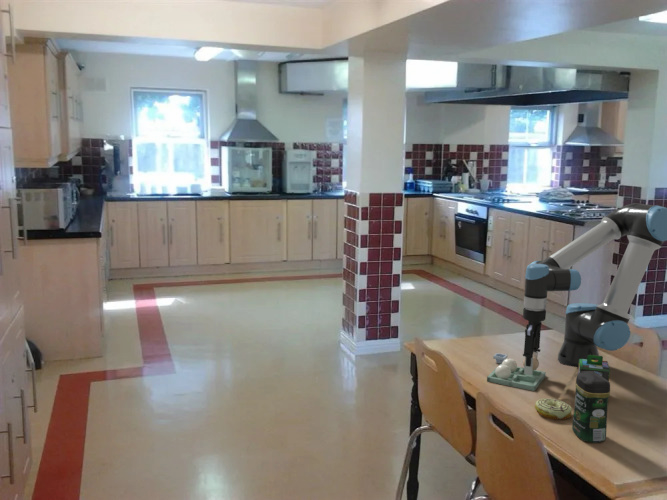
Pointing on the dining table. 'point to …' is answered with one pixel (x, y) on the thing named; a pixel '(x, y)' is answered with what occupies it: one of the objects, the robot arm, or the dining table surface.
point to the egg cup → (499, 359)
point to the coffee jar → (591, 407)
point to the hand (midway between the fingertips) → (530, 371)
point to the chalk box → (595, 366)
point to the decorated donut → (553, 409)
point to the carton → (520, 379)
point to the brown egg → (535, 363)
